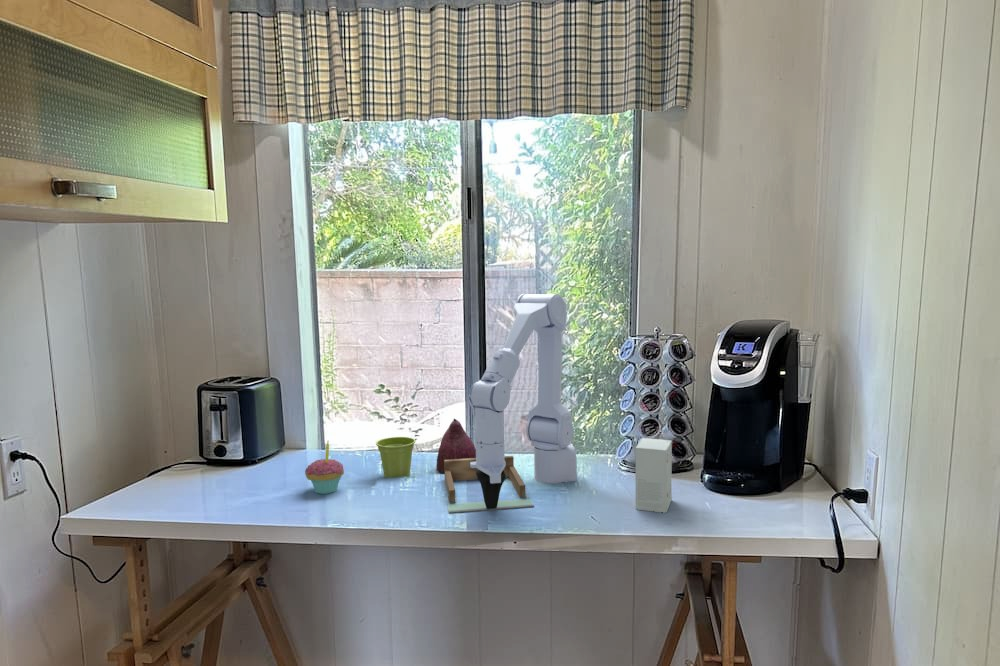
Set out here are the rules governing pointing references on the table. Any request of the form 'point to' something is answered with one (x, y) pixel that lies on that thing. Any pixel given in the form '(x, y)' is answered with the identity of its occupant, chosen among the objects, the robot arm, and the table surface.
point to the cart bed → (463, 471)
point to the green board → (482, 507)
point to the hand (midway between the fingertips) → (491, 506)
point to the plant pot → (396, 456)
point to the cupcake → (325, 474)
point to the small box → (653, 474)
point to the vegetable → (454, 445)
